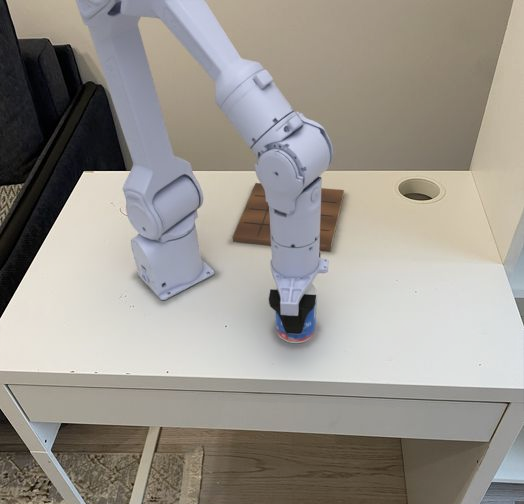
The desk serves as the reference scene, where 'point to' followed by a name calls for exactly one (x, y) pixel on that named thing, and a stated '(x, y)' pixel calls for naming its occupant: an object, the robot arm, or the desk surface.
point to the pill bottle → (308, 326)
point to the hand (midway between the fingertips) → (295, 315)
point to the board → (258, 218)
